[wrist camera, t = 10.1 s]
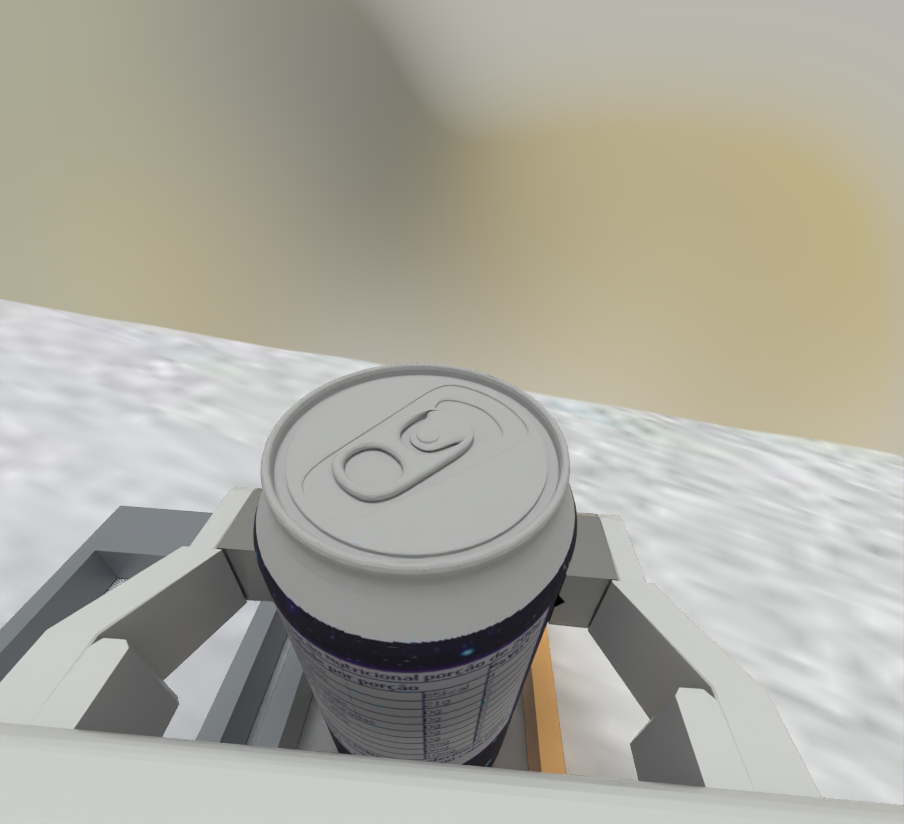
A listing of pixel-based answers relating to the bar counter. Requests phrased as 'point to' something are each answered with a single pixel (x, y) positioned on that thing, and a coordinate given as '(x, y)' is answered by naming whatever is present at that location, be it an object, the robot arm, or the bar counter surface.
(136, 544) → the divided rectangular frame
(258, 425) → the bar counter surface
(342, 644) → the beverage can
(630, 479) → the bar counter surface
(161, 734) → the robot arm
